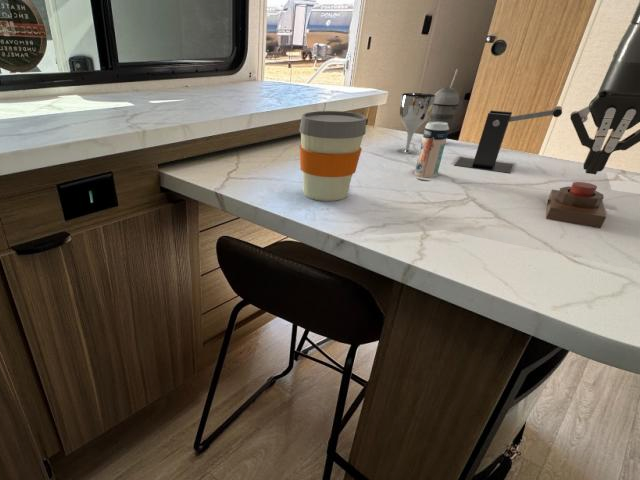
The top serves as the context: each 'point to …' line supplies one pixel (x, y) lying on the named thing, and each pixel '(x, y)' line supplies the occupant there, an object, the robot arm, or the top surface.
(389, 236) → the top surface
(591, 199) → the button box
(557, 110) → the lever
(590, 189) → the button
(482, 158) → the bracket
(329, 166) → the reusable coffee cup
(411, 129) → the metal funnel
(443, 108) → the beverage cup
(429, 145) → the supplement bottle
